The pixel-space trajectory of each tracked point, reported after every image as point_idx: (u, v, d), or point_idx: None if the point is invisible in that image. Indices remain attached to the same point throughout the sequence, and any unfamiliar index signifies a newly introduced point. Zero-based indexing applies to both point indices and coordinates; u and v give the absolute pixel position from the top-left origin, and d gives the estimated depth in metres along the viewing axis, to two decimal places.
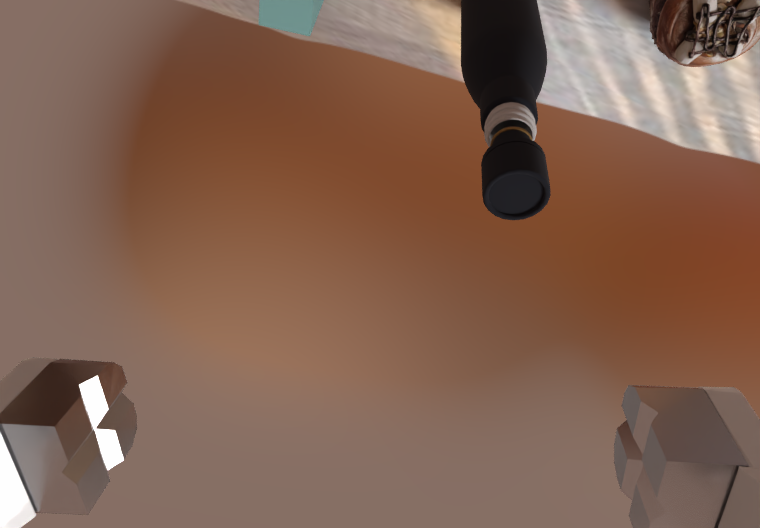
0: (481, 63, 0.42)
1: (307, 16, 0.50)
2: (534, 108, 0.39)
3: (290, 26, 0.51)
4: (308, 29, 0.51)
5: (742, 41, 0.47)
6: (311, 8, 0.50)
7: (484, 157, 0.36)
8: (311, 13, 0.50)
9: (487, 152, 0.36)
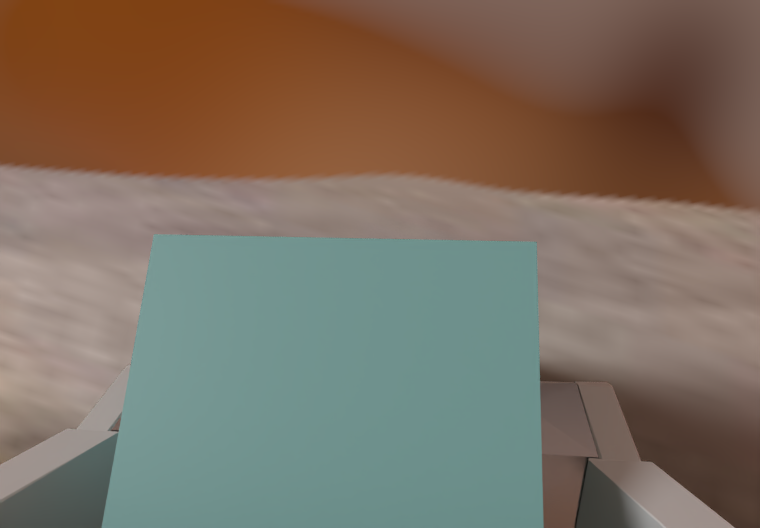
0: None
1: (164, 382, 0.07)
2: None
3: (291, 277, 0.07)
4: (160, 281, 0.07)
5: None
6: (124, 449, 0.06)
7: None
8: (131, 407, 0.07)
9: None
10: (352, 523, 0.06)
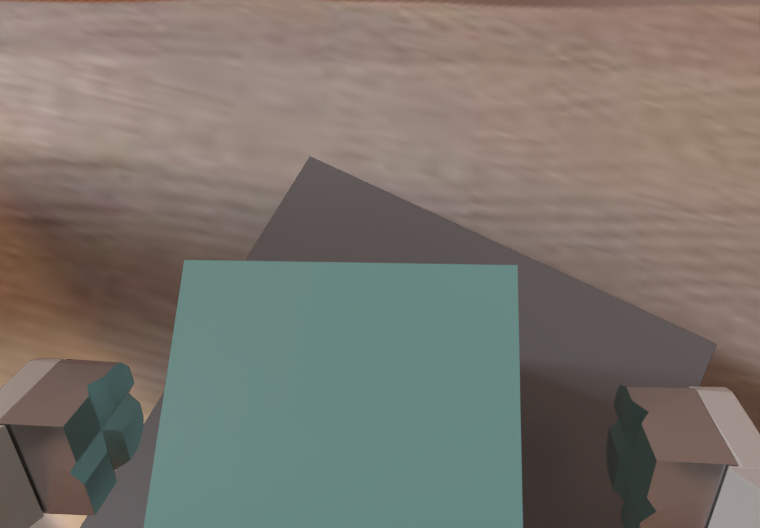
0: None
1: (196, 388, 0.08)
2: None
3: (305, 297, 0.08)
4: (190, 301, 0.08)
5: None
6: (164, 447, 0.07)
7: None
8: (168, 410, 0.08)
9: None
10: (360, 508, 0.07)
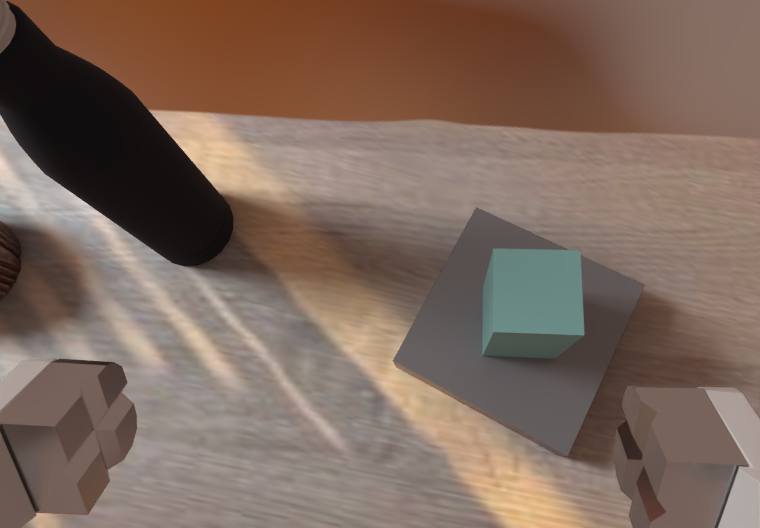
0: (89, 119, 0.28)
1: (501, 280, 0.31)
2: None
3: (526, 257, 0.31)
4: (496, 258, 0.31)
5: None
6: (495, 293, 0.31)
7: None
8: (494, 285, 0.31)
9: None
10: (545, 305, 0.30)
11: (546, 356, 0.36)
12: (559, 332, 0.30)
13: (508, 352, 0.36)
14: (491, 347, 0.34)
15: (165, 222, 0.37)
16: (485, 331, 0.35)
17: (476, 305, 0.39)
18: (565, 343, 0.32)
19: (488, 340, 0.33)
